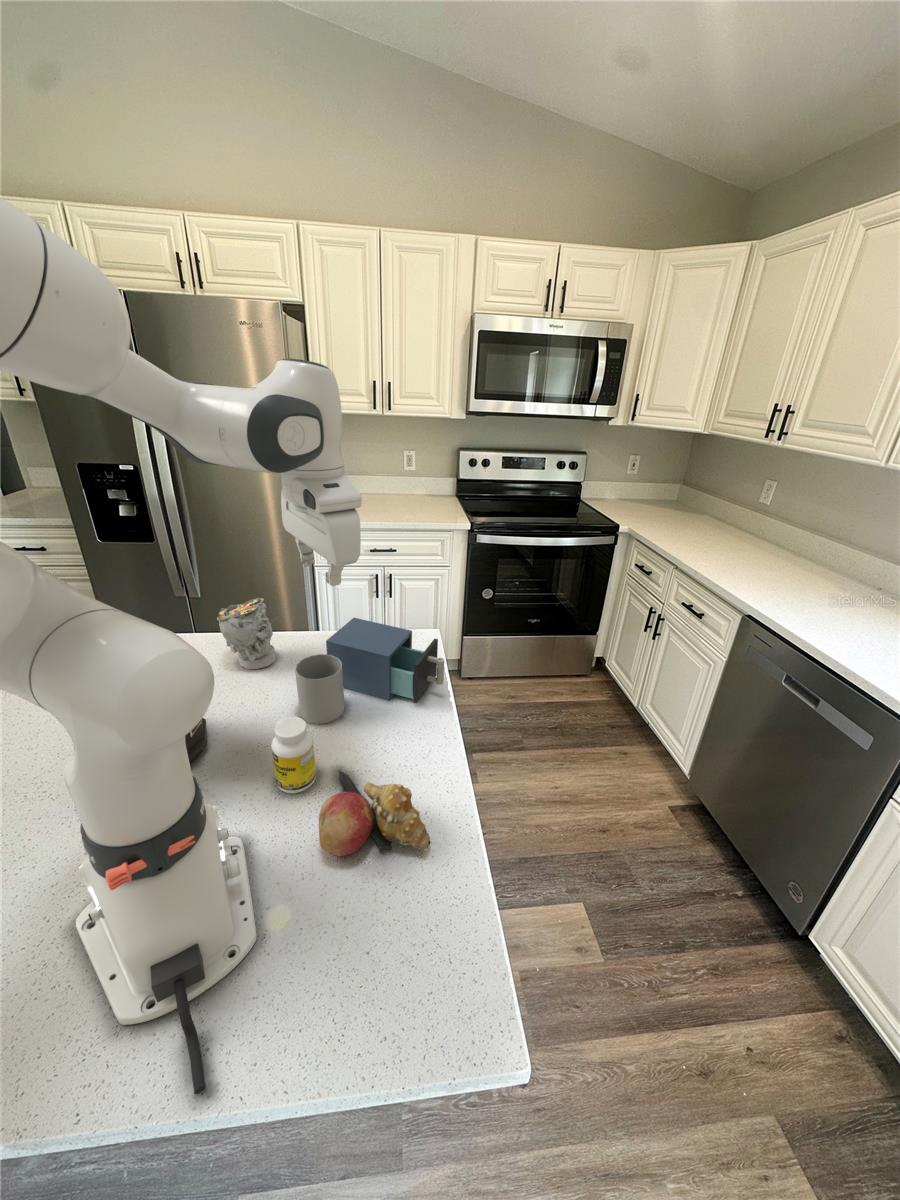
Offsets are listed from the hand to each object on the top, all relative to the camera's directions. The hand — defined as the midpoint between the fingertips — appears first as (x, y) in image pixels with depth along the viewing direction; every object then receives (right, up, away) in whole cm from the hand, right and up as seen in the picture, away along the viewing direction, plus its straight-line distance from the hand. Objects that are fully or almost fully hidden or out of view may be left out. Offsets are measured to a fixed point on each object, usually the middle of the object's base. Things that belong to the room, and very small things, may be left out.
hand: (320, 573), depth 76 cm
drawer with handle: (+11, -22, +26) cm, 35 cm away
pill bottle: (-4, -33, +2) cm, 34 cm away
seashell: (+8, -36, -5) cm, 37 cm away
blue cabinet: (+3, -21, +29) cm, 36 cm away
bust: (-19, -15, +40) cm, 47 cm away
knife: (+7, -36, -2) cm, 37 cm away
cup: (-4, -26, +18) cm, 32 cm away
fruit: (+4, -33, -5) cm, 34 cm away
